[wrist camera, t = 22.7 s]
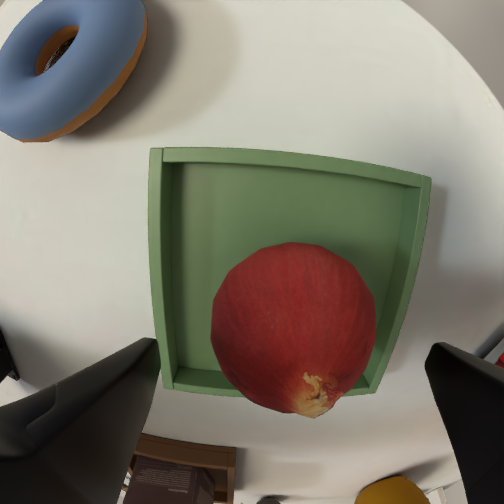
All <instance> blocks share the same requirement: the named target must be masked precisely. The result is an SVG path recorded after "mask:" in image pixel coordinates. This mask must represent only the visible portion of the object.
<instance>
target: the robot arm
mask: <svg viewBox="0 0 504 504" xmlns="http://www.w3.org/2000/svg"><path fill="white" fill-rule="evenodd" d="M160 368H161V358H160V351H159V344H158V341H157V340H156V339H152V338H146V337H144V338H142V339H140V340H138V341H136V342H134V343H133V344H131V345H129V346H127V347H125V348H123V349H121V350H119V351H118V352H116V353H114V354H112V355H110V356H108V357H106V358H104V359H102V360H101V361H99V362H97V363H95V364H93V365H91V366H89V367H87V368H85V369H83V370H81V371H79V372H77V373H75V374H73V375H71V376H70V377H68V378H66V379H64V380H62V381H60V382H58V383H57V384H54V385H52V386H50V387H48V388H46V389H44V390H41V391H39V392H37V393H35V394H33V395H30V396H28V397H25V398H23V399H20V400H18V401H15V402H12V403H10V404H7V405H4V406H1V407H0V504H117V501H118V498H119V495H120V492H121V489H122V486H123V483H124V480H125V477H126V474H127V471H128V468H129V466H130V463H131V460H132V457H133V454H134V452H135V449H136V446H137V443H138V440H139V438H140V435H141V432H142V430H143V427H144V424H145V422H146V419H147V416H148V414H149V411H150V408H151V404H152V400H153V396H154V392H155V388H156V384H157V380H158V376H159V372H160ZM425 371H426V373H427V376H428V379H429V383H430V386H431V389H432V392H433V395H434V399H435V402H436V404H437V407H438V409H439V412H440V414H441V417H442V420H443V422H444V425H445V428H446V430H447V433H448V436H449V439H450V441H451V444H452V447H453V450H454V453H455V457H456V460H457V463H458V466H459V470H460V473H461V477H462V480H463V484H464V488H465V491H466V492H465V493H466V497H467V501H468V504H504V368H502V367H500V366H497V365H495V364H493V363H490V362H488V361H486V360H484V359H481V358H479V357H477V356H474V355H472V354H470V353H468V352H465V351H463V350H461V349H458V348H456V347H454V346H452V345H449V344H447V343H445V342H439V343H435V344H433V346H432V347H431V350H430V352H429V354H428V357H427V359H426V361H425ZM7 376H9V377H11V378H12V379H14V380H16V381H18V380H19V379H20V377H19V375H18V373H17V371H16V368H15V366H14V364H13V362H12V359H11V357H10V355H9V352H8V350H7V347H6V345H5V342H4V340H3V337H2V334H1V331H0V383H1V382H2V381H3V380H4V379H5V378H6V377H7Z"/></svg>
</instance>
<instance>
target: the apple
mask: <svg viewBox="0 0 504 504" xmlns="http://www.w3.org/2000/svg"><path fill="white" fill-rule="evenodd" d="M354 504H431V503H430V502H429V500H428V499H427V498H426V496H425V495H424V493H423V492H422V491H421V489H420V488H419V487H418V486H417V485H416V484H415V483H413V482H412V481H411V480H409V479H407V478H406V477H404V476H395V477H390V478H387V479H384V480H381V481H378V482H376V483H374V484H371V485H369V486H368V487H366V488H365V489H364V490H363V491H362V492H361V493H360V494H359V495H358V496H357V498H356V500H355V503H354Z"/></svg>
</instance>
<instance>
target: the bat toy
mask: <svg viewBox="0 0 504 504" xmlns="http://www.w3.org/2000/svg"><path fill="white" fill-rule="evenodd" d="M241 504H243V503H241ZM257 504H280V502H279V501H277V500H276V499H274V498H264V499H261V500H260V501H258V502H257Z"/></svg>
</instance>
